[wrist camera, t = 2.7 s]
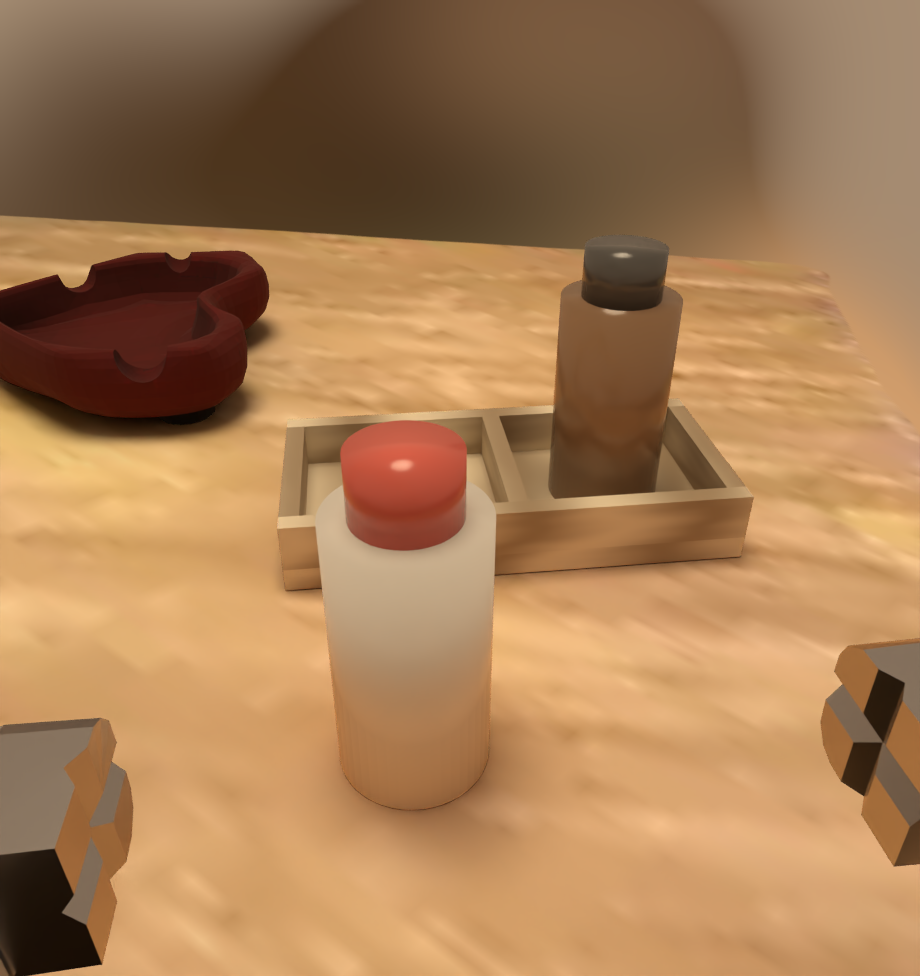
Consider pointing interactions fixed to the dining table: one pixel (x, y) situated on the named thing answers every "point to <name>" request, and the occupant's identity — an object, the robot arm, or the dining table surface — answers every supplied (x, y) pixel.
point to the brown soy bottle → (613, 370)
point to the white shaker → (409, 613)
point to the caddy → (535, 494)
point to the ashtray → (136, 334)
